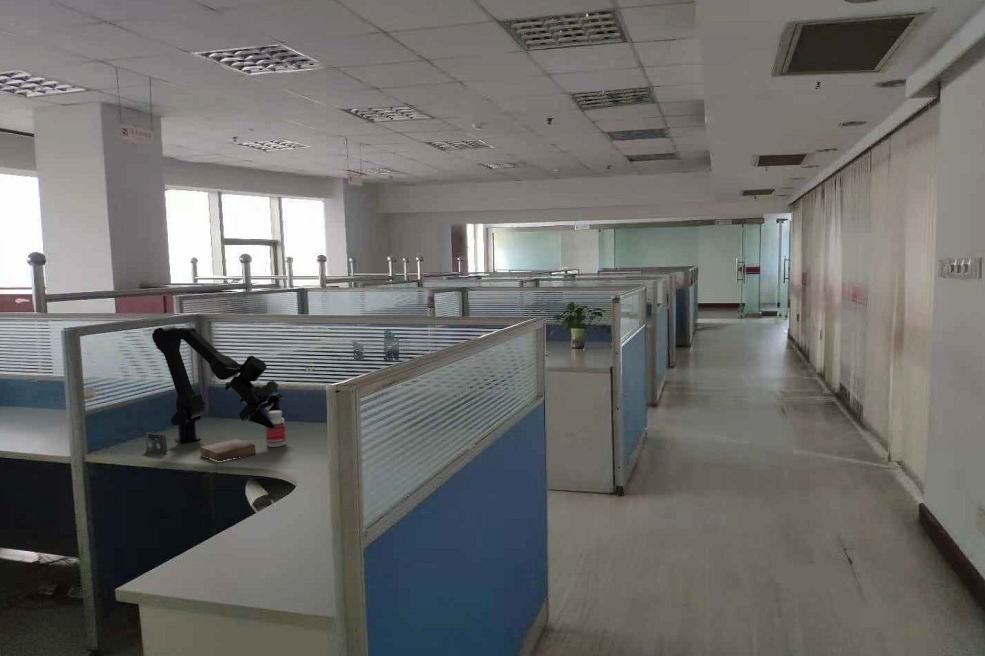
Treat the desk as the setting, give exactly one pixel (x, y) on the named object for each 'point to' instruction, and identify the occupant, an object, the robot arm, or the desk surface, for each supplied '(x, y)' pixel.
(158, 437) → the mini dv tape
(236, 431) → the desk surface
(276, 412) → the pill bottle
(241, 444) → the walnut plinth
